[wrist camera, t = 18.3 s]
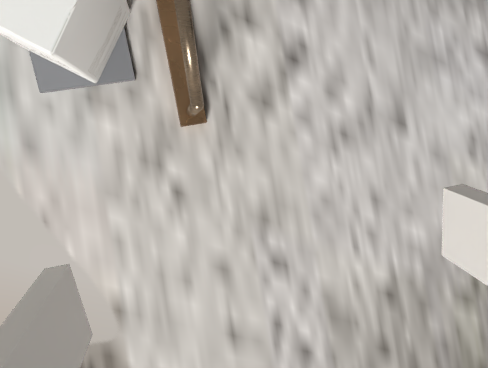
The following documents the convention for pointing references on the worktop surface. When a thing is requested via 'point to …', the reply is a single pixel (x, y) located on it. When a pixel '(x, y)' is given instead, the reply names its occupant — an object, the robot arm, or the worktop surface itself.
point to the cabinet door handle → (182, 59)
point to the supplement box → (66, 31)
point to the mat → (63, 79)
